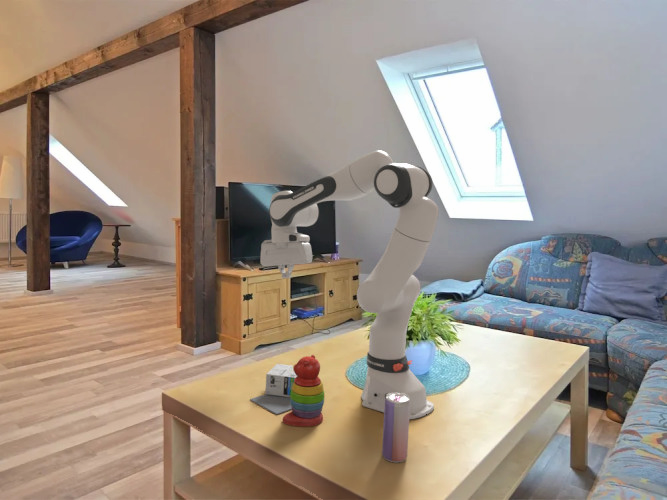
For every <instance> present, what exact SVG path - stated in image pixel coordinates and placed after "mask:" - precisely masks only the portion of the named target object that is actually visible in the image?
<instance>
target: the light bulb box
mask: <svg viewBox="0 0 667 500" xmlns="http://www.w3.org/2000/svg"><path fill="white" fill-rule="evenodd" d="M293 367H294V365H290V364H282V363H276V364H275V365H274V366H273V367H272V368H271V369H270V370H269V371H268V372H266V374H265V375H266V377H265V393H264V395H265V394H269V395H276V396H283V397H290V394H291V390H292V386H293V383H294V379H295V378H296V377H297V375H296V374H295V372H294V369H293ZM290 398H291V397H290Z"/></svg>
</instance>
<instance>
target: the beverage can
mask: <svg viewBox="0 0 667 500" xmlns="http://www.w3.org/2000/svg"><path fill="white" fill-rule="evenodd" d="M409 414H410V401H409V397H408V396H407V395H405V394H402V393H389V394H387V395H386V399H385V406H384V412H383V427H382V428H383V429H382V445H381V446H382V447H381V449H382V451H381V455H382V457H383V458H384V459H385V460H386V461H387V462H389V461H390V463H392V462H394V464H400V463H403V462H405V461H406V460H407V458H408V447H409V446H408V445H409V428H410V427H409V426H410V419H409ZM399 462H400V463H399Z"/></svg>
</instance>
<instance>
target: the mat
mask: <svg viewBox="0 0 667 500" xmlns="http://www.w3.org/2000/svg"><path fill="white" fill-rule="evenodd" d="M250 401H251V402H253V403H254V404H256V405H257V406H260V407H262V408H264V409H266V410H267V411H268V412H271V413H272V414H274V415H276V416H278V415H281V414H285V413H287V412H291V411H292V407H291V400H290V397H283V396H276V395H269V394H265V393H264V394H262V395H258V396H255V397H252V398H250Z"/></svg>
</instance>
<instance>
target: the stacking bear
mask: <svg viewBox="0 0 667 500" xmlns="http://www.w3.org/2000/svg"><path fill="white" fill-rule="evenodd" d="M293 366H294V367H293V369H294V372H295V374H296V375H297V377H296V378H295V379H294V383H293V386H292V390H291V394H290V397H291V398H290V400H291V407H292V410H291V411H289V412H288V413H286V414H285V415H283V417H282V423H284V424H286V425H289V426H294V427H300V428H301V427H304V428H306V427H315V426H318V425H319V424H321V423H322V422H323V421H324V416H323V413H322V411H323V407H324V403H325V390H324V384H323V382H322V380H321V378H320V377H319V374H320V372H321V364H320V362H319V360H318V359H316V356H315V355H314V354H311V355H310V356H303V357H300V359H299V360H298V361H297V362H296V363H295V364H294V365H293Z"/></svg>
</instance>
